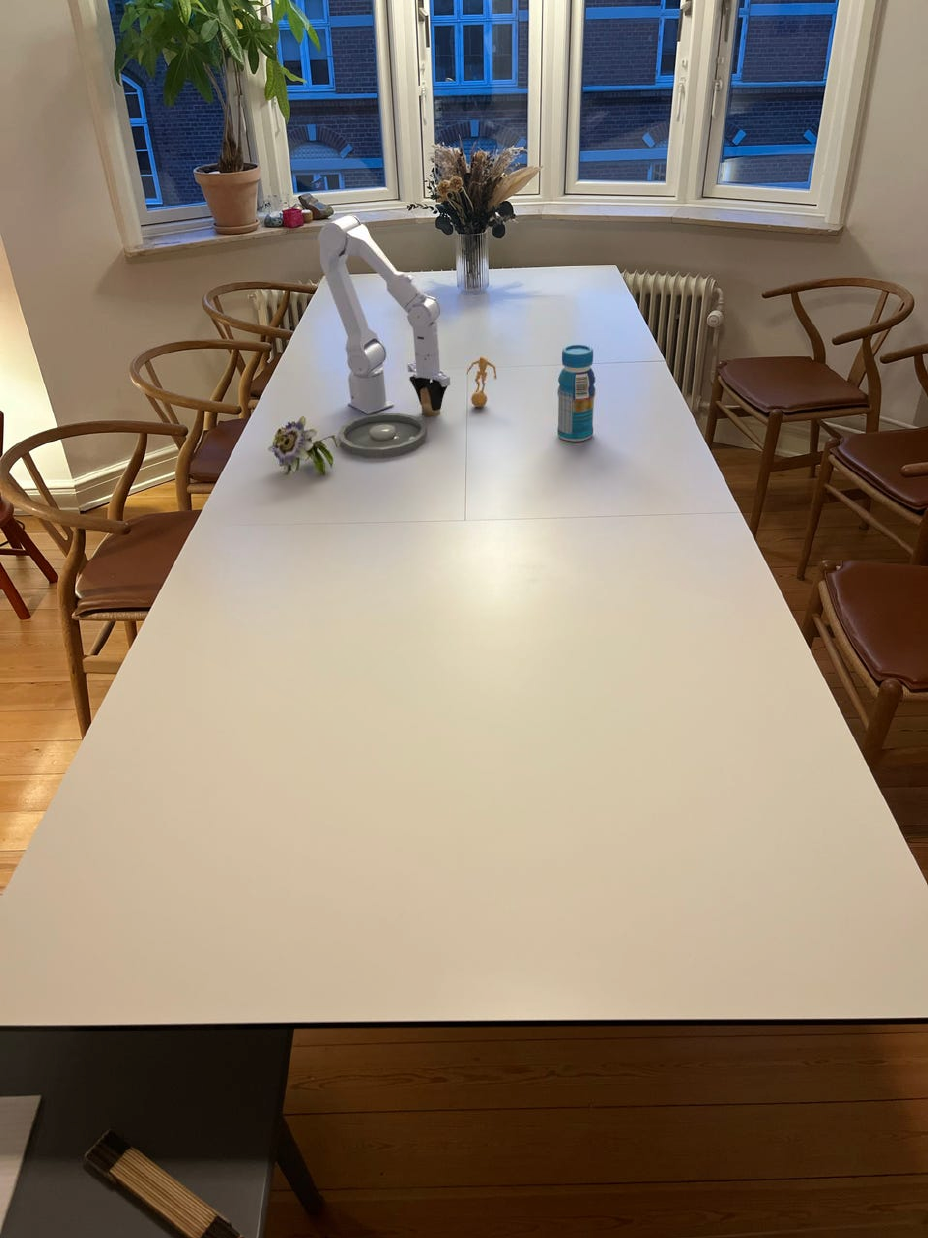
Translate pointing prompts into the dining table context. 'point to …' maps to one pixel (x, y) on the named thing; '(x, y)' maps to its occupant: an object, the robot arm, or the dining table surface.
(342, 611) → the dining table surface
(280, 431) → the passion flower
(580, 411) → the beverage bottle
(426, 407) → the oak bead
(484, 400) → the figurine
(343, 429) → the round tray
